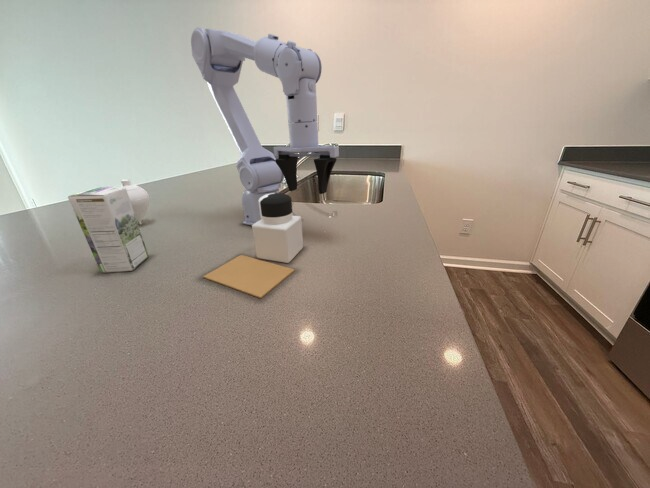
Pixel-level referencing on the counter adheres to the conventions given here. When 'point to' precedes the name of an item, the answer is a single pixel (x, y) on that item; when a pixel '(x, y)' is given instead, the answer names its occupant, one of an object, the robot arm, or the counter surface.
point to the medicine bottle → (277, 229)
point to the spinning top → (137, 199)
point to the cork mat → (250, 275)
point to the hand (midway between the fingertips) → (307, 191)
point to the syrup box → (110, 228)
